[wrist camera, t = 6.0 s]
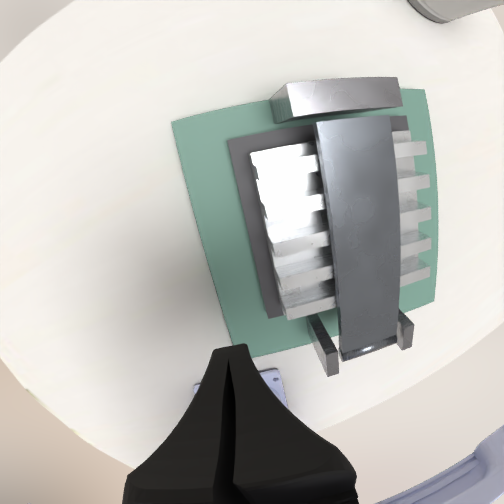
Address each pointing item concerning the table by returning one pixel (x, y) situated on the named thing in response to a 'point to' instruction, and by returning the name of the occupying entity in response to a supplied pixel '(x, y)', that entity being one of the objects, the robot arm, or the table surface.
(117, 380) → the table surface
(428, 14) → the travel mug
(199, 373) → the table surface
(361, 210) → the flat metal bar
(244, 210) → the circuit board
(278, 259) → the heat sink
